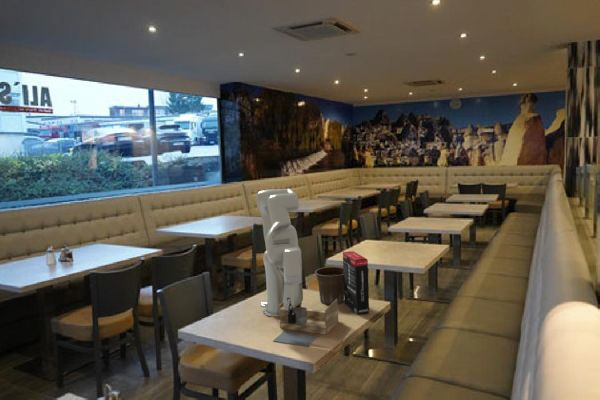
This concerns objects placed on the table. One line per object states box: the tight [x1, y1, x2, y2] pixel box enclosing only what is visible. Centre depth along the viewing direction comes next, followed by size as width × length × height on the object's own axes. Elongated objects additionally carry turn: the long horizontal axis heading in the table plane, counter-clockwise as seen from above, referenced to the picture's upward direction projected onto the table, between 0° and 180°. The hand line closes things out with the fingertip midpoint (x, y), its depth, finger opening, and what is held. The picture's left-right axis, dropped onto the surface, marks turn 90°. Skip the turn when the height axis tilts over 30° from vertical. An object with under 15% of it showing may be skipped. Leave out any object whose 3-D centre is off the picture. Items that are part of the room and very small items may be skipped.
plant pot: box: [314, 266, 345, 306], centre depth 234 cm, size 16×16×16 cm
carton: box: [278, 299, 340, 335], centre depth 204 cm, size 22×18×11 cm
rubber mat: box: [272, 331, 318, 348], centre depth 191 cm, size 16×10×1 cm, turn 67°
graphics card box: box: [342, 250, 370, 316], centre depth 221 cm, size 17×7×27 cm, turn 17°
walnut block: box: [279, 306, 308, 326], centre depth 190 cm, size 10×5×6 cm, turn 66°
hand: (294, 320), depth 190 cm, fingers closed on walnut block, 5 cm apart
